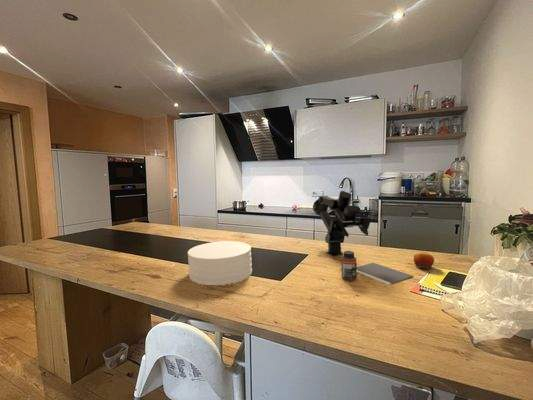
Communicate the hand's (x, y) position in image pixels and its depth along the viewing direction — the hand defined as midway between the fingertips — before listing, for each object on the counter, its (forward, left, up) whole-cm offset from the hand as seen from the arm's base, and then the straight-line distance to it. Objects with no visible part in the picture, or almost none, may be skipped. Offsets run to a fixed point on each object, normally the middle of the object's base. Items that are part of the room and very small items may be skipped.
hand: (358, 235), depth 119 cm
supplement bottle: (+5, -10, -16) cm, 20 cm away
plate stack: (-31, -53, -16) cm, 64 cm away
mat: (+8, +6, -16) cm, 19 cm away
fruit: (+14, +27, -16) cm, 34 cm away
